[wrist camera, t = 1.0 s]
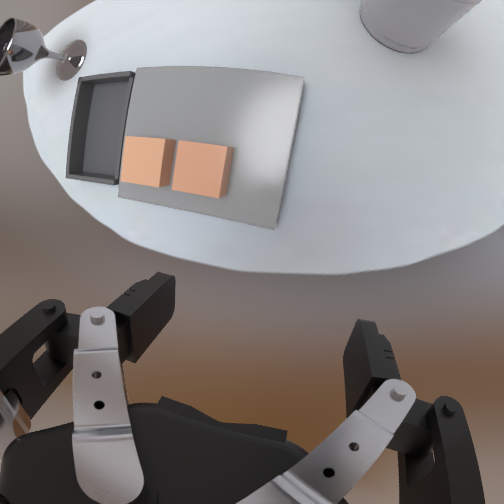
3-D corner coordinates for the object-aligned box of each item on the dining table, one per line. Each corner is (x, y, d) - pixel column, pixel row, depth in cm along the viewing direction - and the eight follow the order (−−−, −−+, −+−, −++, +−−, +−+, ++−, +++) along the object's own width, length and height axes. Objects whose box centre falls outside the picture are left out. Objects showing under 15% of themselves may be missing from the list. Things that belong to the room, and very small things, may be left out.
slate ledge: (149, 73, 29) (136, 67, 26) (304, 84, 27) (303, 77, 24) (131, 193, 34) (118, 197, 32) (276, 223, 32) (273, 229, 29)
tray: (94, 81, 30) (78, 77, 27) (145, 76, 29) (130, 71, 26) (82, 175, 35) (65, 178, 32) (129, 181, 34) (113, 185, 31)
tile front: (188, 141, 28) (178, 140, 26) (234, 147, 27) (227, 146, 25) (182, 186, 30) (171, 189, 27) (226, 195, 29) (218, 198, 27)
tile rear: (137, 136, 29) (125, 135, 26) (176, 139, 28) (165, 138, 26) (132, 178, 30) (120, 181, 28) (169, 184, 30) (158, 187, 28)
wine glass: (85, 28, 27) (16, 6, 13) (91, 63, 29) (14, 45, 15) (53, 57, 30) (-15, 46, 16) (58, 92, 31) (-17, 87, 18)
